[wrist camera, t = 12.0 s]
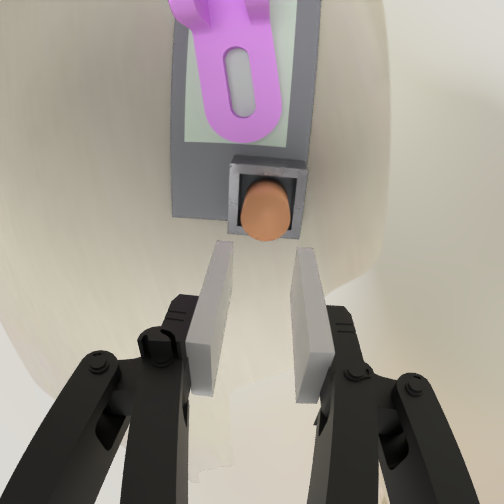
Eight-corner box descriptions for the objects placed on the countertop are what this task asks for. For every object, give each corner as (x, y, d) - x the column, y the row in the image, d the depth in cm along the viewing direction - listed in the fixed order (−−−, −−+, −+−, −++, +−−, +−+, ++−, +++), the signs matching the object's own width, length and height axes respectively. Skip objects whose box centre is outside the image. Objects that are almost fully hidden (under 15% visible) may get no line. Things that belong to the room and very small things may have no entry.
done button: (246, 176, 23) (241, 193, 20) (289, 179, 23) (293, 197, 20) (244, 215, 25) (239, 239, 21) (285, 219, 25) (287, 242, 21)
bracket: (190, -7, 18) (163, -35, 12) (263, -19, 17) (259, -53, 11) (213, 144, 24) (194, 165, 18) (285, 135, 23) (290, 153, 17)
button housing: (234, 154, 25) (229, 163, 22) (304, 160, 24) (308, 169, 22) (231, 218, 27) (227, 233, 25) (296, 223, 27) (299, 239, 25)
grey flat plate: (180, -21, 18) (178, -23, 17) (321, -17, 17) (321, -19, 17) (173, 215, 28) (172, 217, 27) (298, 224, 28) (299, 227, 27)
